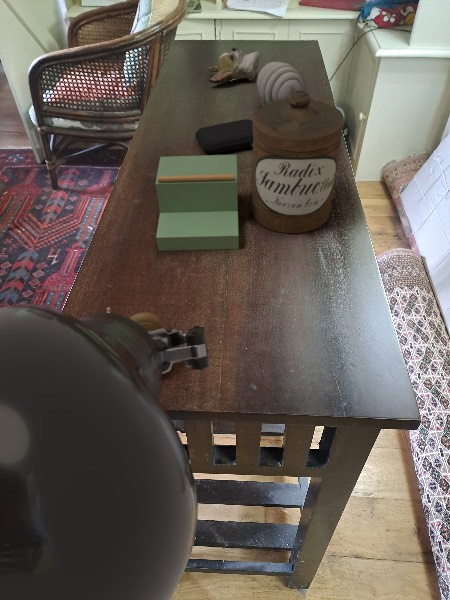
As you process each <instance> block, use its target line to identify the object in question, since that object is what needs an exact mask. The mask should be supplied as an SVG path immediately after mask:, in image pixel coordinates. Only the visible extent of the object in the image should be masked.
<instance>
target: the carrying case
mask: <svg viewBox="0 0 450 600" xmlns="http://www.w3.org/2000/svg"><path fill="white" fill-rule="evenodd" d="M194 138H195V139H196V141H197V142H198V144H199V146H200V147H201V148H202V150H203V151H204V152H205V153H207V155H218V154H221V153H222V154H223V153H226V152H227V153H228V152H232V151H237V150H243V149H246V148H253V119H250V118H244V119H237V120H234V121H229V122H224V123H217V124H213V125H208V126H203V127H200V128H199V129H197V131H196V132H195V133H194Z"/></svg>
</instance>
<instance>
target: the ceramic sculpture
mask: <svg viewBox="0 0 450 600" xmlns="http://www.w3.org/2000/svg"><path fill="white" fill-rule="evenodd" d="M260 52H261V51H260V50H257V51H253V52H250V53H247V54H245V53H244V52H243V51H242V50H241V49H239V48H238V47H237V48H236V47H232V48H231V51H228V52H224V53H222V54H221V55H220V56H219V57H218V59H217V63H216V64H217V65H214V66H212V67H209V66H207V67H205V70H207V71H208V70H209V72H210V71H211V72H210V73H212V72H218V73H217V74H215V73H214V75H213V76H212V77H211V78H208V79H207V82H209V83H212V84H216V83H224V82H226V83H232V82H233V81H230V80H232V79H239V80H241V79H240V78H243V79H247V78H249V79H253V80H254V78H255V76H256V73H257V71H258V69H259V64H260ZM227 81H228V82H227ZM249 81H250V82H251V81H252V80H249ZM224 84H225V83H224Z"/></svg>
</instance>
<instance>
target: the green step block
mask: <svg viewBox="0 0 450 600" xmlns="http://www.w3.org/2000/svg"><path fill="white" fill-rule="evenodd" d="M237 159H238V158H237V154H207V155H206V154H205V155H180V156H179V155H178V156H177V155H175V156H174V155H173V156H172V155H171V156H160V157H159V162H158V168H157V173H156V177H155V178H156V179H155V191H156V196H157V202H158V208H159V217H158V224H157V229H156V236H155V240H156V245H157V246H156V247H157V250H158V251H159V252H160V251H161V252H165V251H166V252H167V251H168V252H169V251H207V250H208V251H210V250H239V249H240V243H239V242H240V239H239V238H240V237H239V236H240V235H239V234H240V233H239V232H240V231H239V211H238V210H239V202H238V201H239V200H238V199H239V197H238V191H239V190H238V189H239V188H238V160H237Z"/></svg>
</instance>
